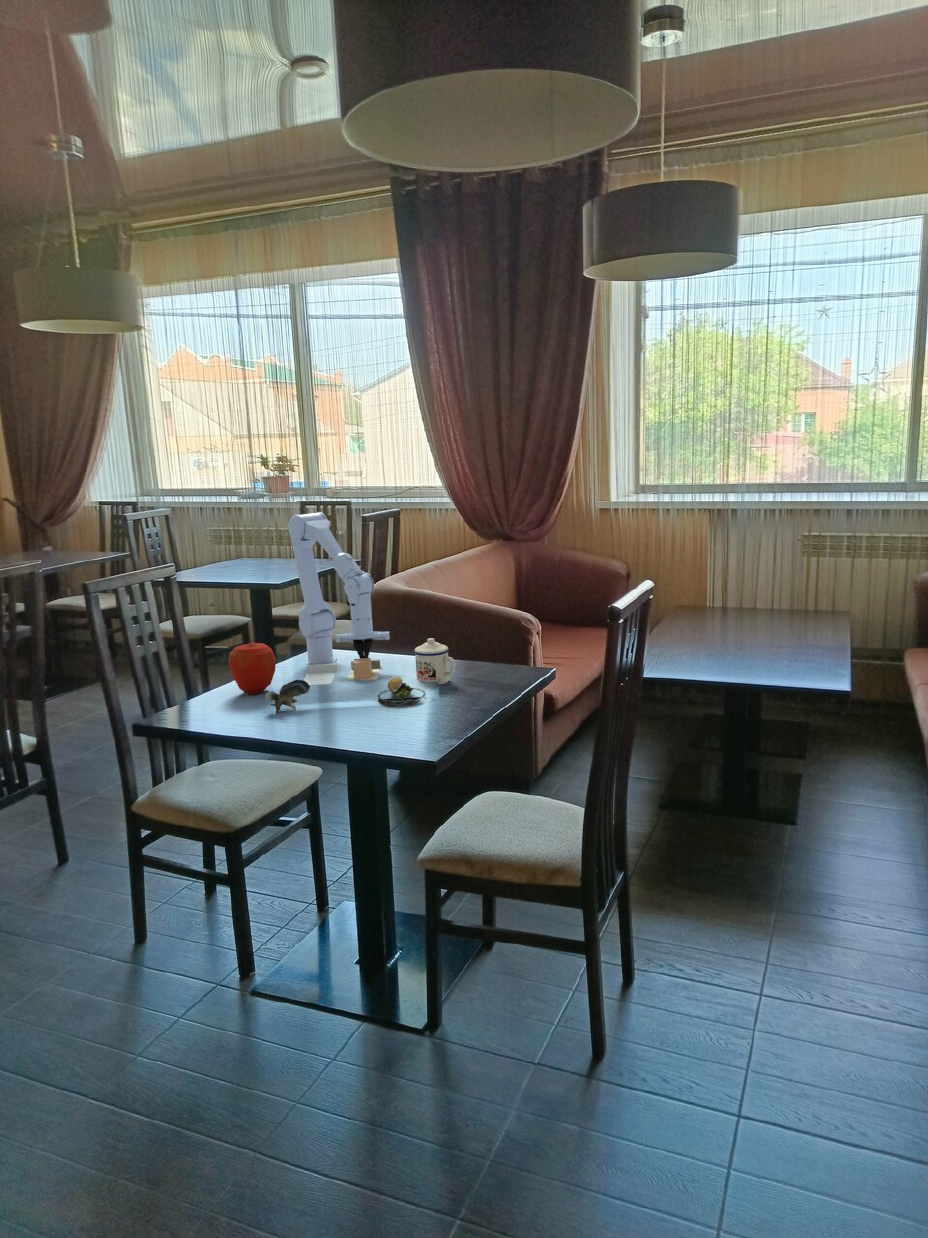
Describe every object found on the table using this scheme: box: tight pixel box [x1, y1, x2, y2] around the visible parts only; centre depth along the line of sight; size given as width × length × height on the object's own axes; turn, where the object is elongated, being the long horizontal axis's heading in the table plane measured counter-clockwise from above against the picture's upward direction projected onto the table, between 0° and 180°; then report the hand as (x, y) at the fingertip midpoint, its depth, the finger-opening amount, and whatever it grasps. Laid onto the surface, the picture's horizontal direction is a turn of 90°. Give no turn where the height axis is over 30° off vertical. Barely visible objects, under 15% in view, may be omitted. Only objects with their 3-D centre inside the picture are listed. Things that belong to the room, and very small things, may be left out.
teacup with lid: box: [413, 637, 457, 686], centre depth 229 cm, size 12×9×12 cm
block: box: [352, 657, 372, 679], centre depth 234 cm, size 4×4×4 cm
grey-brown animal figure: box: [265, 679, 311, 715], centre depth 213 cm, size 8×8×10 cm
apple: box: [227, 640, 277, 696], centre depth 227 cm, size 12×12×14 cm
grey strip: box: [303, 662, 338, 686], centre depth 236 cm, size 14×8×3 cm, turn 2°
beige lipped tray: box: [347, 658, 381, 682], centre depth 238 cm, size 14×8×3 cm, turn 2°
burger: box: [377, 673, 426, 707], centre depth 215 cm, size 12×12×8 cm
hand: (364, 665), depth 242 cm, fingers closed, pressing on beige lipped tray
